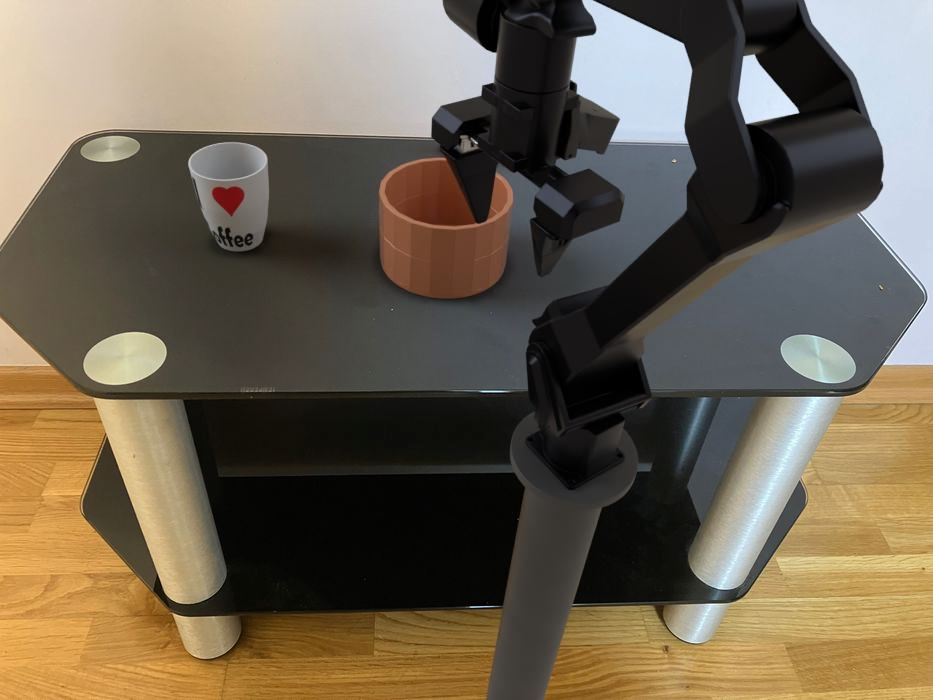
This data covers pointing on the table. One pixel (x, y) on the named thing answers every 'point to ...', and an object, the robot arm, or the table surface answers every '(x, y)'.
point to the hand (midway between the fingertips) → (511, 247)
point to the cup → (232, 192)
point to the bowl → (440, 232)
